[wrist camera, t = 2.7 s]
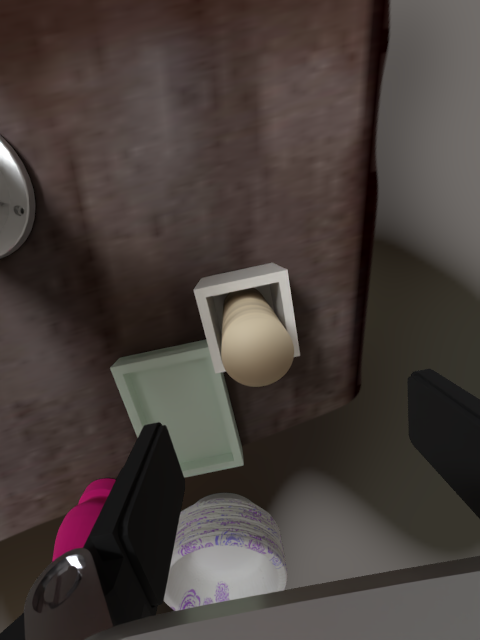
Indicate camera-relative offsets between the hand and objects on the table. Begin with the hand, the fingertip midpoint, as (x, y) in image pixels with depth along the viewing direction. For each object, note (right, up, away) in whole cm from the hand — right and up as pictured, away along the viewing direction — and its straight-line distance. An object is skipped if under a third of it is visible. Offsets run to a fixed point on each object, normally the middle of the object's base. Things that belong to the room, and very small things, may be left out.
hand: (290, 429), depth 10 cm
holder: (-1, +6, +18) cm, 19 cm away
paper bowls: (-4, -24, +28) cm, 37 cm away
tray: (-9, -6, +22) cm, 24 cm away
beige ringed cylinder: (-1, +6, +18) cm, 18 cm away
